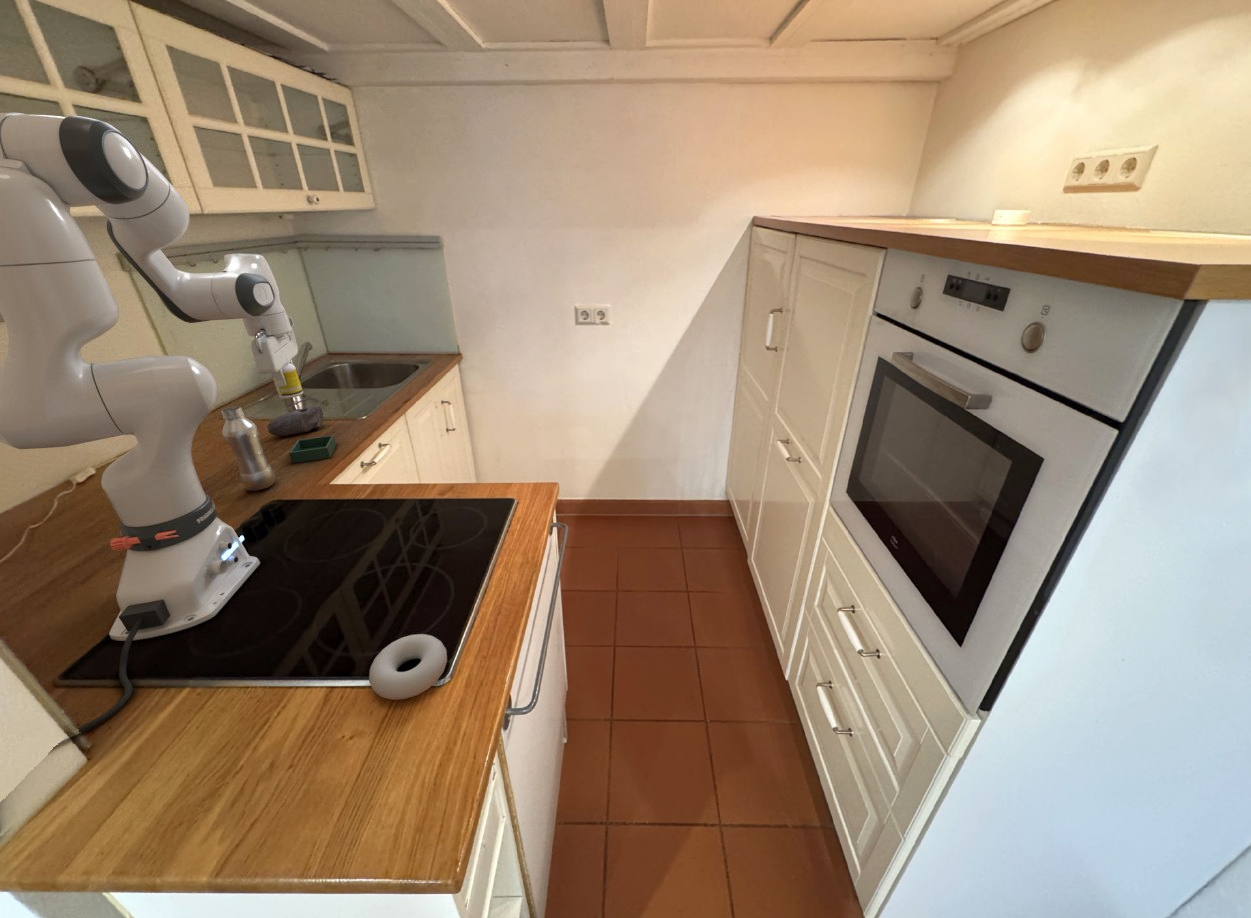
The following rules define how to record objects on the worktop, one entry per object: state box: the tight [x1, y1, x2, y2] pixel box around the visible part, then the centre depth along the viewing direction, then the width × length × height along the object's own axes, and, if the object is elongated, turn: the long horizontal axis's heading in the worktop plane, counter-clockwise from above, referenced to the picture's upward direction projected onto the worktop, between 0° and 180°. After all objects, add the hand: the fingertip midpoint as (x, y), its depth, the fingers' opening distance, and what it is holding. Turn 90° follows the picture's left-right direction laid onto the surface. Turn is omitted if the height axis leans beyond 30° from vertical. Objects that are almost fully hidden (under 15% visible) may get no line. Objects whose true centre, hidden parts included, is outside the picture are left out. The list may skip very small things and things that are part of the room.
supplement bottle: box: [271, 356, 304, 399], centre depth 124 cm, size 5×5×10 cm
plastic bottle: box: [220, 405, 276, 492], centre depth 116 cm, size 6×7×20 cm
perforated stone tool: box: [267, 405, 324, 437], centre depth 149 cm, size 15×5×7 cm, turn 127°
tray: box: [288, 434, 337, 464], centre depth 136 cm, size 9×9×3 cm
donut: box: [368, 633, 448, 701], centre depth 68 cm, size 10×4×10 cm
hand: (286, 381), depth 125 cm, fingers closed on supplement bottle, 5 cm apart
